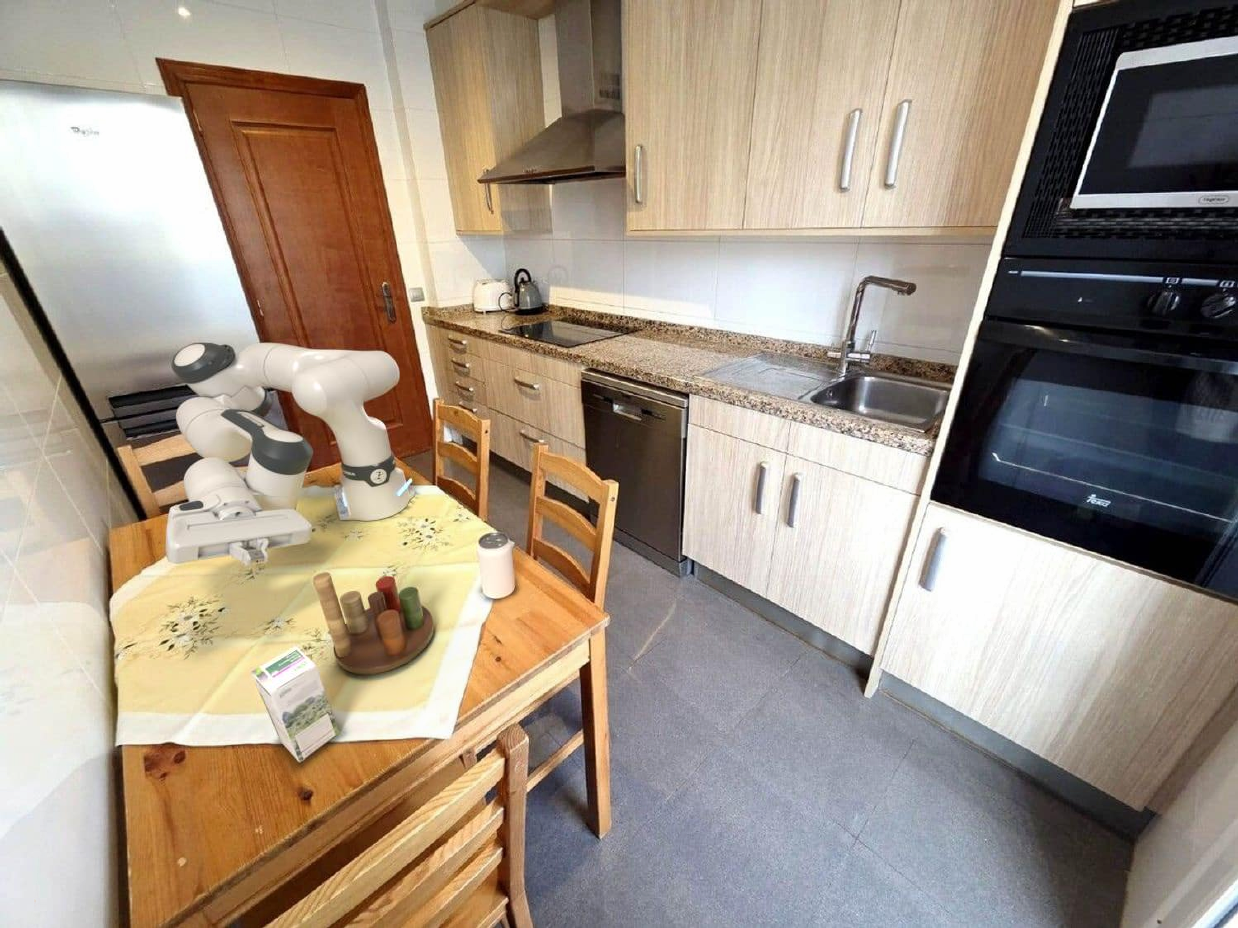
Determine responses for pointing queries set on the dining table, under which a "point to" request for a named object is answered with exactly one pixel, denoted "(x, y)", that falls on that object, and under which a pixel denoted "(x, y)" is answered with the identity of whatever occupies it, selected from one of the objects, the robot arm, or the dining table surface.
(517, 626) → the dining table surface
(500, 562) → the can
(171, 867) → the dining table surface
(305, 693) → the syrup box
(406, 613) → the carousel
